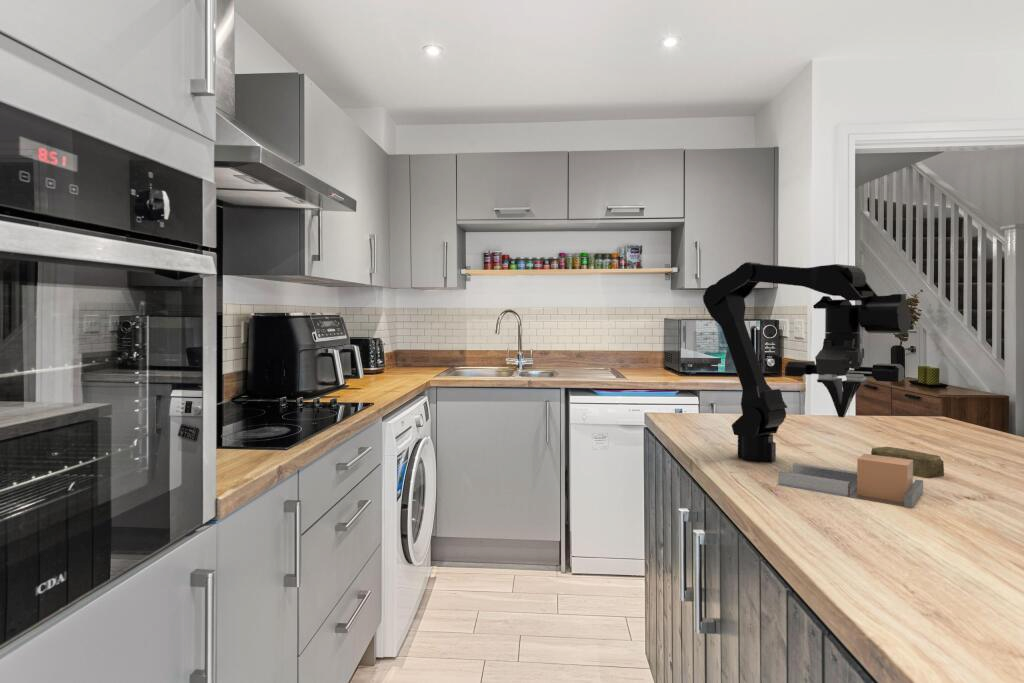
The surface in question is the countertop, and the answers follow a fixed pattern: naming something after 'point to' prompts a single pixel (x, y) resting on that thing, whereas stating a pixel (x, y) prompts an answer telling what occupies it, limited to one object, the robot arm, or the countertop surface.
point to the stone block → (915, 461)
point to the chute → (839, 484)
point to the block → (884, 477)
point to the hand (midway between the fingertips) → (841, 417)
